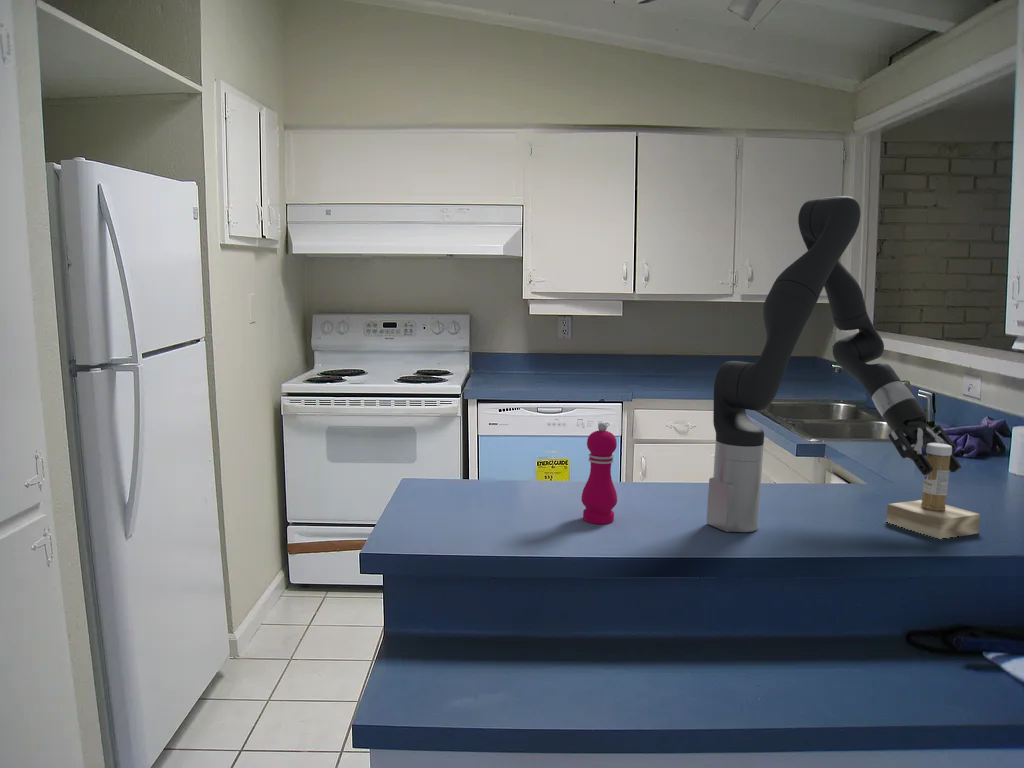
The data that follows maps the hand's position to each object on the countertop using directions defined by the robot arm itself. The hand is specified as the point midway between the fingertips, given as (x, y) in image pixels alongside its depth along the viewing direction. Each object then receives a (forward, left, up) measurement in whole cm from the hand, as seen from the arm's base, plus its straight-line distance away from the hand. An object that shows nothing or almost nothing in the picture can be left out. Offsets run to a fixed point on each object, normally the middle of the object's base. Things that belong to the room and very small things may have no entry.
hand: (943, 471), depth 156 cm
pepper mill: (-63, +29, -12) cm, 71 cm away
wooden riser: (0, +1, -12) cm, 12 cm away
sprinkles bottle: (0, +2, -8) cm, 8 cm away
